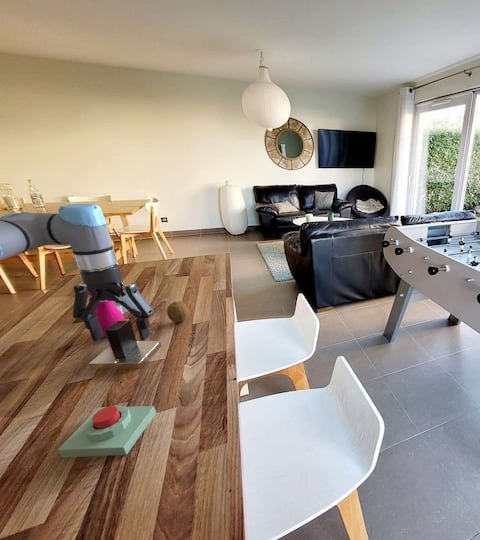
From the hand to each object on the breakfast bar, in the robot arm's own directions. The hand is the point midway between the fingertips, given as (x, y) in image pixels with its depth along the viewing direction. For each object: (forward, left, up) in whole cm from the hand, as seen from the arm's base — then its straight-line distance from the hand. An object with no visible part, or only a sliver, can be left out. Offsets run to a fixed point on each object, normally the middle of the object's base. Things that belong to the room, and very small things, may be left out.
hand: (122, 338), depth 80 cm
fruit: (+5, +19, -7) cm, 21 cm away
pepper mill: (-13, +13, -7) cm, 20 cm away
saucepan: (-19, +25, -7) cm, 32 cm away
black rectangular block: (0, 0, -5) cm, 5 cm away
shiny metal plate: (0, 0, -7) cm, 7 cm away
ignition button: (+13, -25, -3) cm, 28 cm away
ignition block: (+13, -25, -7) cm, 29 cm away
